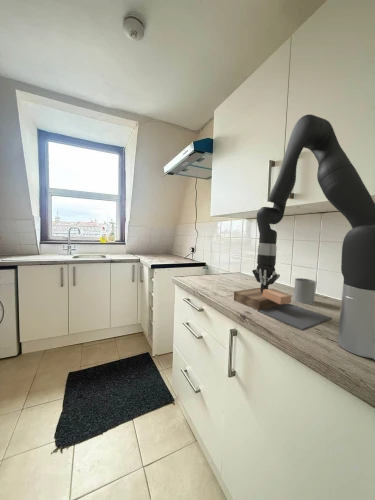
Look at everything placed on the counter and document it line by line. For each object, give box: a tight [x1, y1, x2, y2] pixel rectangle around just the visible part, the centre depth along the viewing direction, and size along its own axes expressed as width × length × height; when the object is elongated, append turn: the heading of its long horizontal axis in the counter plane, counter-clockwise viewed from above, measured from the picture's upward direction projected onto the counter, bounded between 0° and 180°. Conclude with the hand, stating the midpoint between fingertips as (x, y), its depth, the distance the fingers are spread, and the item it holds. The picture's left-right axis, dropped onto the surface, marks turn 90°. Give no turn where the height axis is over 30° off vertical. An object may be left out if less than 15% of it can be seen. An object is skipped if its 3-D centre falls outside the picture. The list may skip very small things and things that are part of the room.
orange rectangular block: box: [262, 288, 293, 304], centre depth 82 cm, size 9×6×3 cm, turn 26°
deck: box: [233, 287, 283, 311], centre depth 90 cm, size 14×18×4 cm
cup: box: [293, 277, 317, 305], centre depth 94 cm, size 8×8×10 cm
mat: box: [257, 303, 333, 331], centre depth 76 cm, size 17×20×1 cm
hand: (264, 292), depth 87 cm, fingers closed
